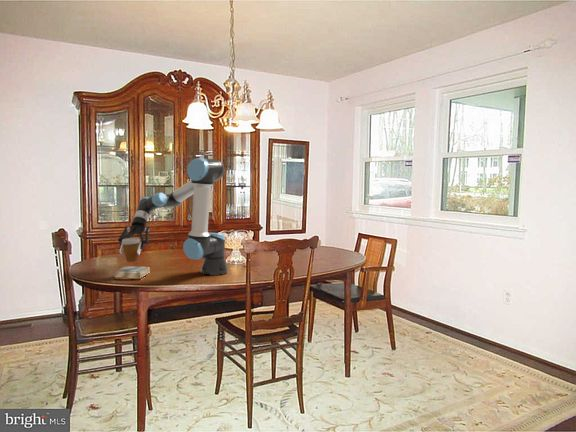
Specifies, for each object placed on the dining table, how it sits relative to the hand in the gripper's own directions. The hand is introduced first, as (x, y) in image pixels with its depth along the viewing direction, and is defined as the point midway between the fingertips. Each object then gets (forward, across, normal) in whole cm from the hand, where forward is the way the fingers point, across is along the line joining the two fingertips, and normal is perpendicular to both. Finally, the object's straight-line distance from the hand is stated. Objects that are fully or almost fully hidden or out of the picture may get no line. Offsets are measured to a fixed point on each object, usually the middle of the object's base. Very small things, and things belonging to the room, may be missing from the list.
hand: (129, 253), depth 228 cm
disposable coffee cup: (+2, -1, -5) cm, 6 cm away
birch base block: (+7, 0, -12) cm, 14 cm away
